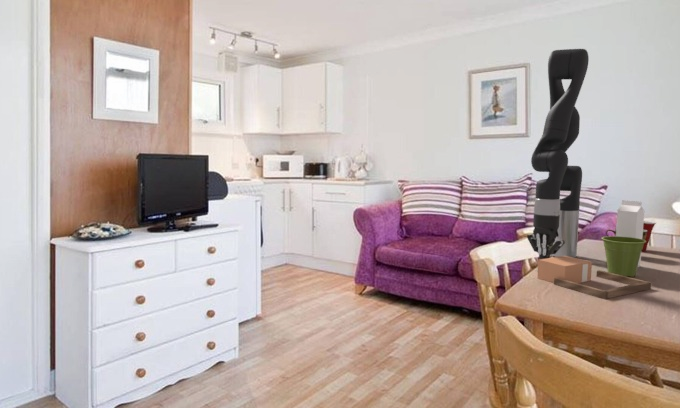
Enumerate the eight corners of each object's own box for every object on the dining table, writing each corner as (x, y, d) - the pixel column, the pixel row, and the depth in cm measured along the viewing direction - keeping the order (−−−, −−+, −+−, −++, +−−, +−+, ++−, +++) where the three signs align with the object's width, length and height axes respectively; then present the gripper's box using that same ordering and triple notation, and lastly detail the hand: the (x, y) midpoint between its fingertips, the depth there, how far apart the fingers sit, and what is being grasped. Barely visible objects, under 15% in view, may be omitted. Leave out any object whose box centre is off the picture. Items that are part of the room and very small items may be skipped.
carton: (537, 279, 138) (538, 259, 137) (563, 274, 143) (564, 255, 143) (564, 286, 130) (565, 266, 129) (590, 281, 135) (592, 261, 135)
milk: (633, 269, 149) (638, 202, 147) (613, 265, 154) (617, 200, 152) (640, 266, 153) (645, 201, 150) (620, 262, 158) (625, 199, 155)
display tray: (553, 284, 131) (554, 278, 131) (598, 275, 141) (599, 270, 140) (604, 299, 118) (605, 292, 118) (650, 288, 127) (651, 282, 127)
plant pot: (637, 271, 146) (639, 237, 145) (648, 281, 135) (651, 243, 134) (595, 268, 150) (597, 234, 149) (603, 277, 139) (606, 241, 137)
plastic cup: (661, 252, 176) (663, 221, 174) (639, 253, 173) (641, 222, 171) (635, 246, 186) (637, 217, 185) (614, 248, 183) (616, 218, 182)
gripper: (521, 211, 149) (519, 263, 150) (556, 216, 137) (553, 272, 139) (537, 210, 152) (535, 260, 154) (573, 214, 140) (570, 269, 142)
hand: (543, 266), depth 146 cm, fingers closed
